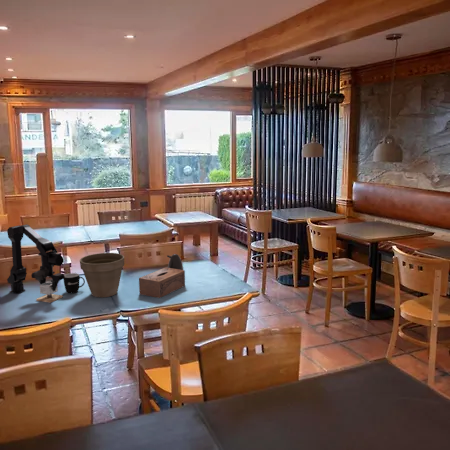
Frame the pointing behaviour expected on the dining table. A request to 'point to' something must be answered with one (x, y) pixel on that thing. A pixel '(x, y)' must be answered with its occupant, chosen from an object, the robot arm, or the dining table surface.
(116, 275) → the plant pot
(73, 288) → the mug
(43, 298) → the shaft block
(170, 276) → the tissue box cover
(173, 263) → the pump dispenser
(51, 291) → the collar
